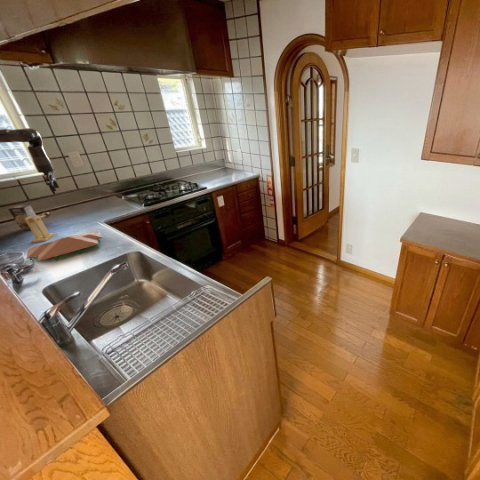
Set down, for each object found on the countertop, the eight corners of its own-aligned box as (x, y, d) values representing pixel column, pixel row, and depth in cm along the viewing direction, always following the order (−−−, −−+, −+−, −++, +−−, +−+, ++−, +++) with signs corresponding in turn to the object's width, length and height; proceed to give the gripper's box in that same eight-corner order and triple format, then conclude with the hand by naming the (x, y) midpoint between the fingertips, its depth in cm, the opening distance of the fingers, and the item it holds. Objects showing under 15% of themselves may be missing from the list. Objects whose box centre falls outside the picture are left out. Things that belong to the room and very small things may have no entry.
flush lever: (46, 217, 174) (44, 212, 172) (52, 216, 174) (50, 211, 173) (29, 223, 161) (26, 217, 159) (36, 222, 161) (33, 217, 160)
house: (106, 247, 155) (100, 234, 151) (29, 269, 135) (20, 256, 131) (101, 234, 170) (95, 223, 166) (30, 253, 150) (22, 241, 146)
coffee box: (20, 230, 180) (6, 208, 172) (28, 226, 186) (15, 205, 178) (35, 229, 181) (22, 207, 174) (42, 225, 187) (30, 204, 179)
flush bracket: (42, 235, 171) (30, 214, 164) (56, 234, 173) (44, 213, 166) (31, 242, 163) (17, 221, 156) (46, 241, 164) (33, 219, 157)
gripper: (37, 162, 164) (50, 187, 171) (31, 166, 153) (45, 193, 161) (53, 161, 167) (65, 186, 175) (48, 164, 157) (61, 191, 164)
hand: (55, 189), depth 168 cm, fingers open, 8 cm apart
